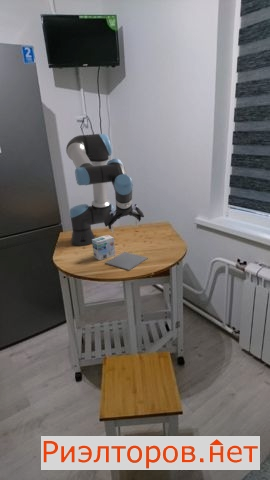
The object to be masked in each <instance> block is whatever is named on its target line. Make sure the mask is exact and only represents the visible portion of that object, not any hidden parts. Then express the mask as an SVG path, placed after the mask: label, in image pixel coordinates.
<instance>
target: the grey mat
mask: <svg viewBox="0 0 270 480" xmlns="http://www.w3.org/2000/svg"><path fill="white" fill-rule="evenodd" d="M148 259H149V257H146V256H142V255H138V254H135V253H132V252H131V253H130V252H127V251H124V252H121V253H120V254H118V255H115V256H113V258H111V259H109V260H107V261H105V262H104V263H105V264H106V265H109V266H113V267H115V268H119V269H123V270H125V271H131V270H133V269H134V268H136V267H137V266H139V265H141V264H142V263H144V262H145V261H146V260H148Z"/></svg>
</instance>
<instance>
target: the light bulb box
mask: <svg viewBox="0 0 270 480" xmlns="http://www.w3.org/2000/svg"><path fill="white" fill-rule="evenodd" d="M91 245H92V251H93V252H92V253H93V258H95V259H97V260H98V261H102V260H105V259H108V258H112V257H116V249H115V247H116V246H115V245H116V244H115V238H114V236H111V235H110V234H106V235H102V236H99V237H95V239H92V244H91Z"/></svg>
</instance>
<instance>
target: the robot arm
mask: <svg viewBox="0 0 270 480" xmlns="http://www.w3.org/2000/svg"><path fill="white" fill-rule="evenodd" d="M65 151H66V154H67V156H68V158H69V159H70V160H71V161H72V163H73V165H74V166H75V169H74V175H75V181H76V184H77V185H78V186H89V185H92V190H93V191H92V192H93V201H91V205H88V204H86V203H83V204H78V205H75V206H72V207H71V208H70V209H69V217H70V221H71V224H70V225H71V230H72V233H71V240H70V242H71V245H72V246H76V247H77V246H78V247H82V246H83V247H84V246H88V245H89V246H90V245H92V239H95V238H96V237H95V234H94V233H93V230H92V226H93V225H98V224H104V227H108V229H109V230H110V232H111V234H114V227H113V224H115V223H116V222H117V221H118V220H119V219H121V218H123V217H126V216H130V217H131V216H132V217H134V218H135V223H134V224H135V226H136V228H137V227H139V222H141V220H142V218H144V217H145V215H144V213H143V211H142V210H141V209H140V208H139V207H138V204H137V203H135V204H134V205H133V186H134V185H133V179H132V177H130V176H129V175H128V174H127V171H126V168H125V166H124V164H123V162H122V161H121V159H119V158H112V159H110V160H109V158H110V157H109V156H112V154H113V151H112V143H111V141H110V138H109V136H108V135H107V134H105V133H95V134H93V133H92V134H82V135H80V134H79V135H77V136H74V137H73V138H71V139H70V140H69V141H68V143H67V145H66V148H65ZM108 183H111V184H112V186H113V189H114V195H115V210H114V205H113V203H111V201H110V200H109V199H108V198H109V196H108V195H109V194H108ZM91 225H92V226H91Z"/></svg>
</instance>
